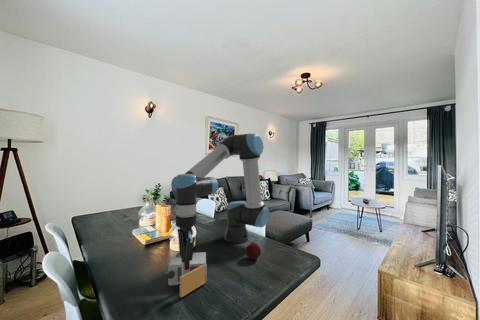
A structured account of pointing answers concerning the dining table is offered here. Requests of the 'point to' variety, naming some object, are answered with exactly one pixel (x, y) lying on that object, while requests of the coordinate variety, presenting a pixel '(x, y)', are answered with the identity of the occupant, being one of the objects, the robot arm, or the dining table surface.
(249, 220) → the robot arm
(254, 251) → the apple
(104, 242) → the dining table surface
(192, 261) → the small grey cabinet
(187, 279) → the side door
